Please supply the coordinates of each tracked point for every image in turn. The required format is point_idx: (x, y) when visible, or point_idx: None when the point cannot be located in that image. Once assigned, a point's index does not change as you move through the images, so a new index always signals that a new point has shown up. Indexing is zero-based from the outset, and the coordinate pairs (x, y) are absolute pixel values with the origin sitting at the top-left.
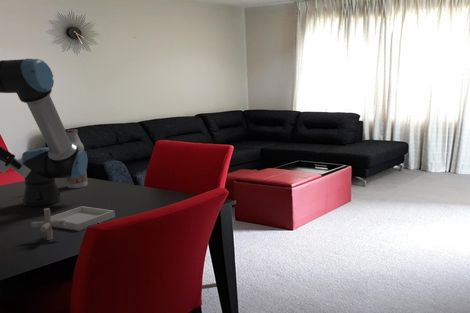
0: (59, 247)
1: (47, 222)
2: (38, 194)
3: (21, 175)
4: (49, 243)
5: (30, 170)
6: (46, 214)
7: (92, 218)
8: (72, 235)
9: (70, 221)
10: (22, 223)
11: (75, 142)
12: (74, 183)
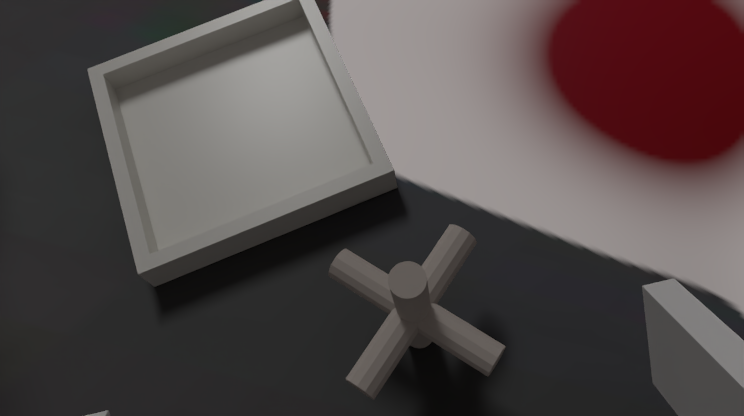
0: (593, 333)
1: (431, 313)
2: None
3: (674, 408)
4: None
5: (678, 287)
6: (426, 298)
7: (354, 92)
8: (443, 230)
9: (317, 186)
10: (11, 375)
11: None
12: None
